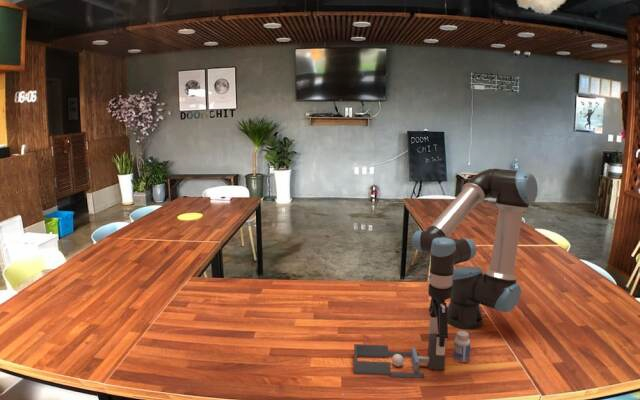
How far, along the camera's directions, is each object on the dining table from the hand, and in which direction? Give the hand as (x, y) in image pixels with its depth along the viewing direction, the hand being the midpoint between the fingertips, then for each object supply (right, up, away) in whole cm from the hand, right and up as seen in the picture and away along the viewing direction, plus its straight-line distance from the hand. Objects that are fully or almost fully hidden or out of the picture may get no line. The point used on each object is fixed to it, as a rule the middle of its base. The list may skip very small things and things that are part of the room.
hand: (436, 344), depth 150 cm
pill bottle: (+11, -8, +7) cm, 15 cm away
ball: (-13, -6, +2) cm, 14 cm away
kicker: (-2, -8, +2) cm, 9 cm away
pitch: (-16, -8, +3) cm, 18 cm away
